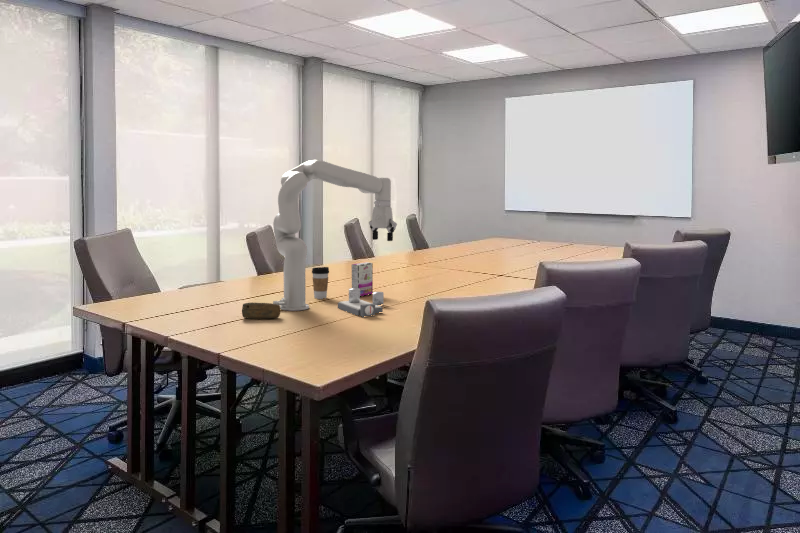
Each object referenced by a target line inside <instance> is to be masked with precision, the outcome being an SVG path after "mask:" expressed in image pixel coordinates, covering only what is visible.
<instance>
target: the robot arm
mask: <svg viewBox="0 0 800 533" xmlns="http://www.w3.org/2000/svg"><path fill="white" fill-rule="evenodd" d="M312 180H318V181H322V182H325V183H329V184H332V185H335V186H337V187H343V188H354V189H358V190H359V191H360V192H361V193H364V194H374V202H373V205H374V206H373V209H372V213H371V220H370V221H369V222H368V224H369V228H370V230H371V232H372V241H373V240H375V241H376V240H379V231H378V230H379V229H386V230H387V233H386V237H387V238H386V241H387V242H393V241H394V240H393V238H394V232H395V230H396V227H397V225H398V223H397V222H396V221H394V218H393V217H394V216H393V211H392V210H393V209H392V207H391V205H392V202H391V200H392V198H391V197H392V196H391V194H392V183H391V182H392V180H391V179H390V178H389V177H377V176H376V175H371V174H369V173H366V172H361V171H358V170H355V169H351V168H346V167H343V166H339V165H337V164H333V163H331V162H327V161H325V160H322V159H312V160H307V161H305V162H303V163H301V164H299V165H298V166H296V167H294V168H291V169H290V170H288V171H287V172H285V173H284V174H283V175H282V176H281V179H280V184H281V187H280V190H279V192H278V195H277V203H278V204H277V205H278V213H277V214H276V215H275V216H274V218H273V222H272V223H273V225H272V226H273V234H274V239H275V245H276V249H277V252H278V253H279V254H280V255H281V256H283V257H284V261H283V271H282V272H283V297H281V299H279V300H273V302H272V304H277V305H279V306H280V310H283V311H290V312H295V311H297V312H298V311H299V312H300V311H305V310H308V309H309V308H310V304H308V303H306V263H307V262H306V261H307V257H308V256H307V255H308V247H307V244H306V242H305V241H304V240H303V239H301V238H300V237H297V236H296V234H297V233H299V232H300V231H301V228H302V222H301V221H302V220H301V214H300V210H299V196H300V195H301V193H302V192H303V191H304V190H305V189H306V187H307V186H308V183H309V182H310V181H312Z"/></svg>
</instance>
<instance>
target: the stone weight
mask: <svg viewBox="0 0 800 533" xmlns="http://www.w3.org/2000/svg"><path fill="white" fill-rule="evenodd" d="M280 306H281V305H277V304H273V302H272V303H270V302H245V303H243V304H242V308H241V314H242V317H243V318H244V319H249V320H270V319H278V318H279V317H280V316H281V308H280Z"/></svg>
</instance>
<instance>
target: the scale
mask: <svg viewBox="0 0 800 533" xmlns="http://www.w3.org/2000/svg"><path fill="white" fill-rule="evenodd" d="M338 308H339V309H338ZM337 309H338V310H341V311H344V312H346V311H347V312H346V313H349V312H350V313H349V314H351V313H352V314H351V315H354V314H355V315H354V316H356V315H358V316H357V317H360V316H362V317H361V318H365V317H364V316H371V315H375V316H376V314H375V313H379V312H384V311H383V306H378V305H375V304H373V302H369V301H366V300H363V299H360V303H349V300H344V301H339V302H337ZM359 315H360V316H359ZM371 317H372V316H371Z"/></svg>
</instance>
